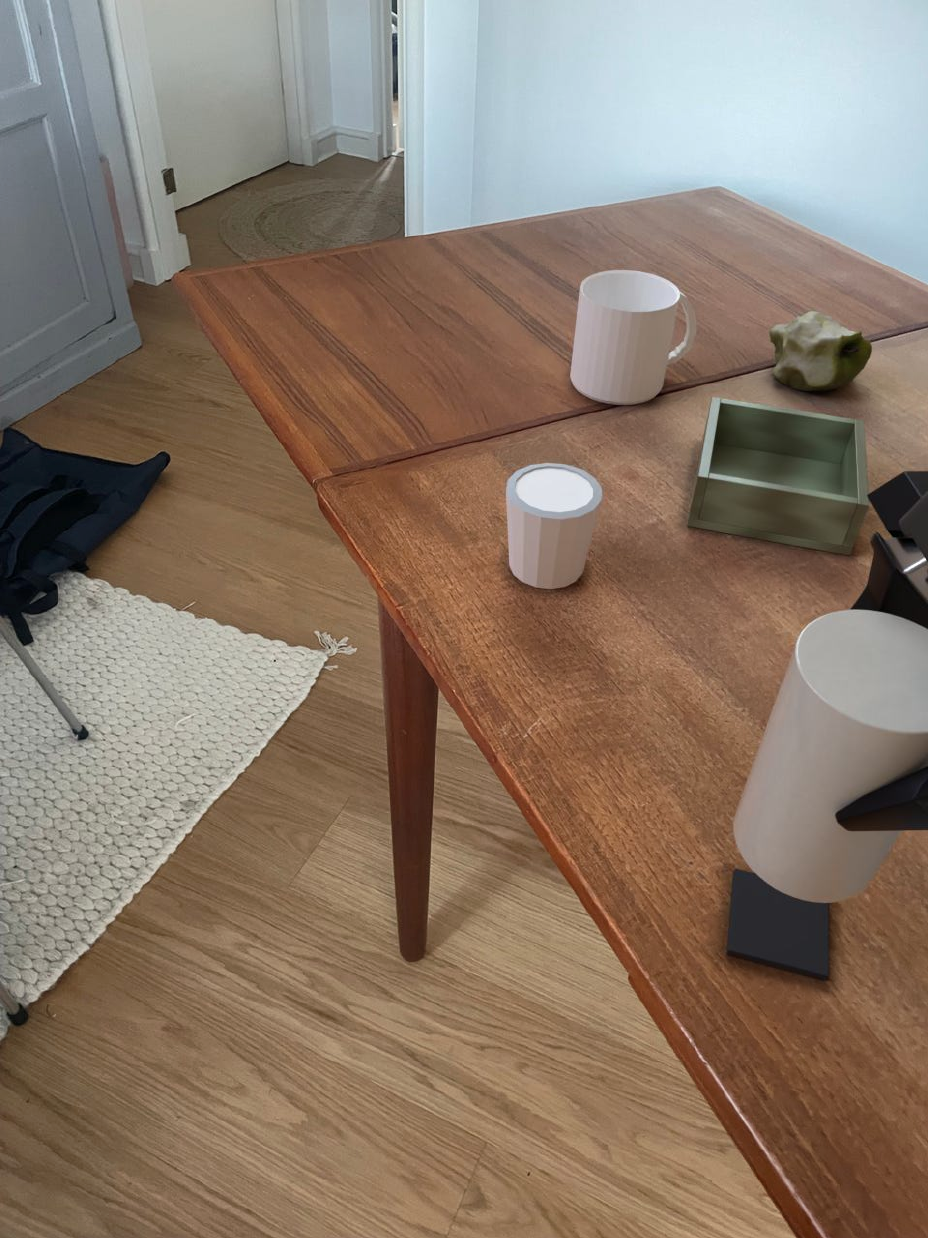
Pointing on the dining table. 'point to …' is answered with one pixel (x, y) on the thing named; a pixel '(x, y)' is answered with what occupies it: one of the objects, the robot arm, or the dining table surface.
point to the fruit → (817, 353)
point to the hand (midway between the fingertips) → (813, 753)
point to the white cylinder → (834, 753)
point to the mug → (627, 335)
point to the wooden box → (781, 476)
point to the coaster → (777, 927)
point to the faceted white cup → (550, 523)
